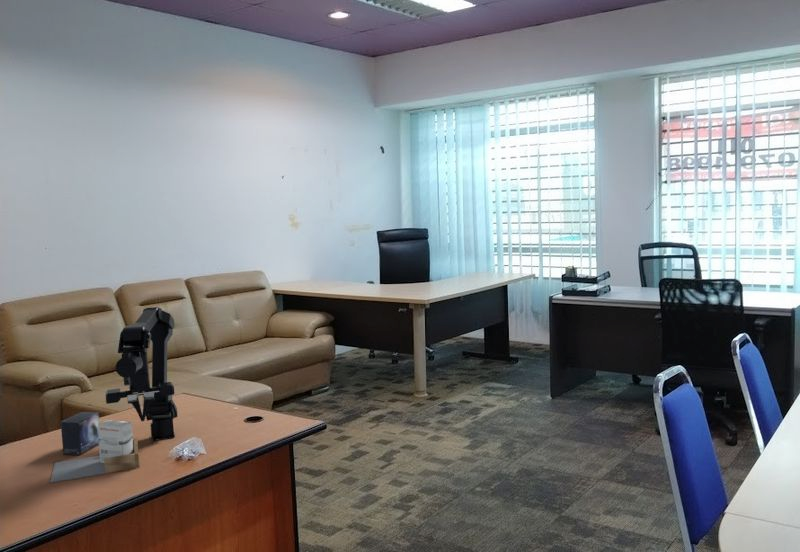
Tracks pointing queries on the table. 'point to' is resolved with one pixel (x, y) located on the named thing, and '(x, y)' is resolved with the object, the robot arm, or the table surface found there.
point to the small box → (80, 433)
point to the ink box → (115, 439)
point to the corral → (123, 460)
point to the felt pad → (77, 469)
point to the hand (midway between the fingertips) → (142, 420)
